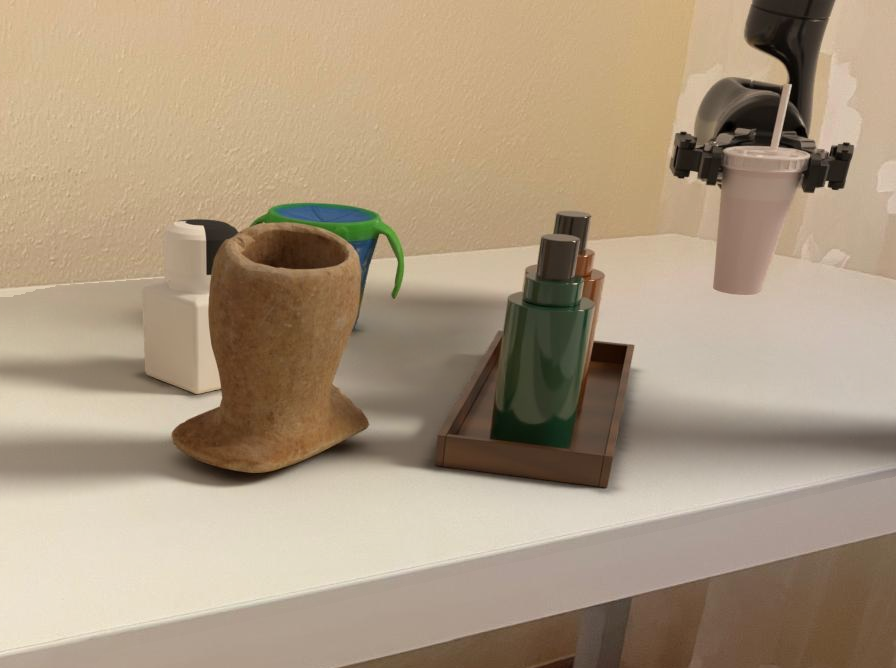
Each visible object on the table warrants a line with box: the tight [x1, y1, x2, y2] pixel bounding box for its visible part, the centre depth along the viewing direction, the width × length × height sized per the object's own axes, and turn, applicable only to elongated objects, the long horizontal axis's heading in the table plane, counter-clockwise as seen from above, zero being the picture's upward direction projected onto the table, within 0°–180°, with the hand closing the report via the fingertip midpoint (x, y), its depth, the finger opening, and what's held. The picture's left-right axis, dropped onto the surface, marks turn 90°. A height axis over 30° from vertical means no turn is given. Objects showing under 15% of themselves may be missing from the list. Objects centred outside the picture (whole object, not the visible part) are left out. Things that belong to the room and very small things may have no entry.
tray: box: [434, 330, 635, 489], centre depth 96 cm, size 31×12×2 cm, turn 164°
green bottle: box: [489, 233, 595, 449], centre depth 84 cm, size 6×6×14 cm
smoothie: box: [712, 83, 810, 296], centre depth 91 cm, size 6×6×14 cm
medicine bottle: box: [141, 218, 240, 395], centre depth 97 cm, size 7×7×12 cm
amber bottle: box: [521, 210, 606, 413], centre depth 92 cm, size 6×6×14 cm
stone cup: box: [171, 222, 370, 474], centre depth 82 cm, size 15×12×15 cm
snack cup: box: [248, 202, 405, 329], centre depth 113 cm, size 16×10×10 cm
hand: (763, 173), depth 88 cm, fingers closed on smoothie, 6 cm apart
